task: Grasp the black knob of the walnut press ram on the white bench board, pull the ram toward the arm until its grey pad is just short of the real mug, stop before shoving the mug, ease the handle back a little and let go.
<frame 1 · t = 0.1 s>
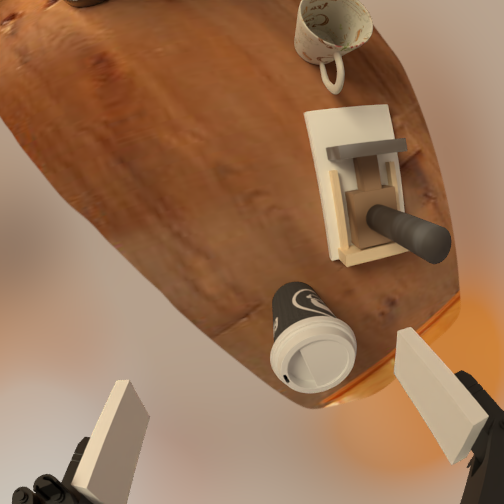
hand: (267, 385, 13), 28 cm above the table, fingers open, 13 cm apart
mug: (318, 59, 33), on the table
ram: (394, 199, 29), point 9 cm above the table, slide at 0.0 cm
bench: (359, 179, 38), on the table
coffee cup: (294, 301, 43), on the table
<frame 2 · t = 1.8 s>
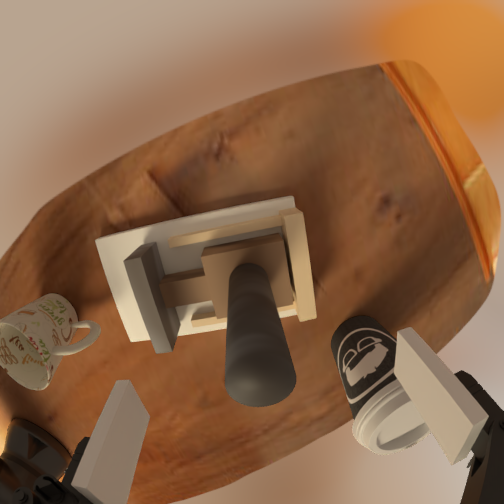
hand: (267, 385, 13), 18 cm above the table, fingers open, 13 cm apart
mug: (72, 313, 31), on the table
ram: (210, 315, 21), point 9 cm above the table, slide at 0.0 cm
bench: (202, 273, 30), on the table
coffee cup: (355, 338, 34), on the table
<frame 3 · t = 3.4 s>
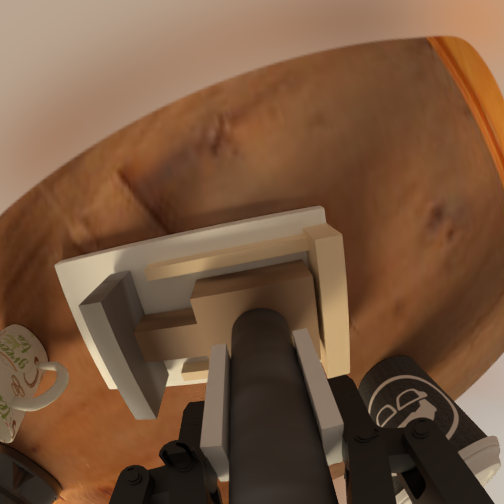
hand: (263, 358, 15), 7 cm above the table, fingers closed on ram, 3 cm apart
mug: (40, 348, 23), on the table
ram: (203, 398, 13), point 9 cm above the table, slide at 0.0 cm, touching gripper
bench: (196, 311, 22), on the table
coffee cup: (387, 380, 25), on the table
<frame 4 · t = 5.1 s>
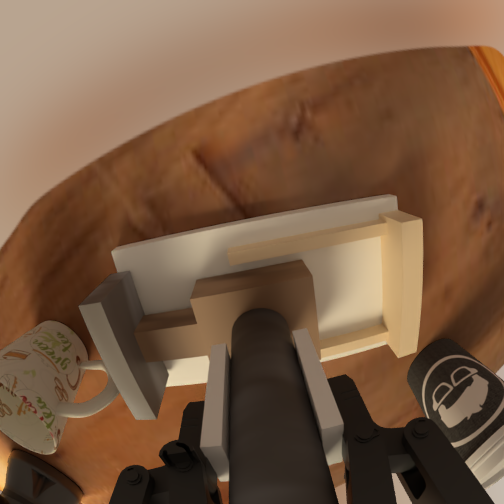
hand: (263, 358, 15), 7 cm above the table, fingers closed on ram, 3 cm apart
mug: (79, 346, 23), on the table
ram: (204, 398, 13), point 9 cm above the table, slide at 5.5 cm, touching gripper
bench: (268, 298, 22), on the table
coffee cup: (432, 363, 25), on the table
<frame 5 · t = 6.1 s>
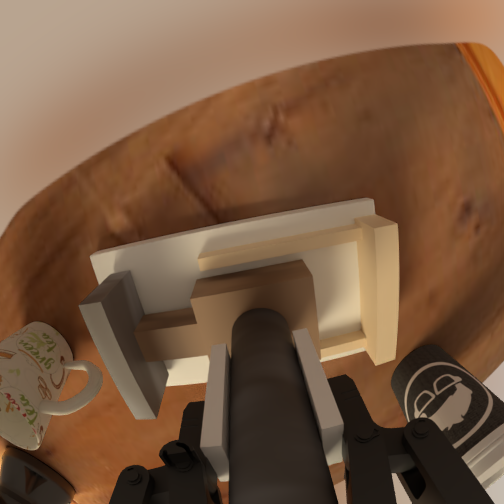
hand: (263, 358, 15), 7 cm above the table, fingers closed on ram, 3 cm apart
mug: (64, 346, 23), on the table
ram: (203, 398, 13), point 10 cm above the table, slide at 3.6 cm, touching gripper
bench: (243, 302, 22), on the table
coffee cup: (417, 369, 25), on the table
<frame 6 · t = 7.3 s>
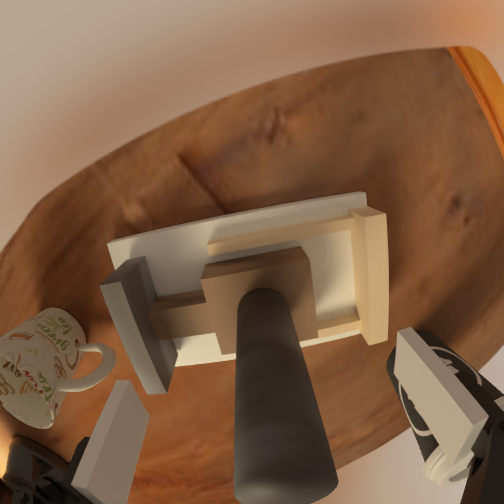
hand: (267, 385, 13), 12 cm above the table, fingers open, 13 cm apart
mug: (78, 331, 25), on the table
ram: (212, 365, 15), point 10 cm above the table, slide at 3.6 cm
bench: (247, 286, 24), on the table
coffee cup: (411, 355, 27), on the table
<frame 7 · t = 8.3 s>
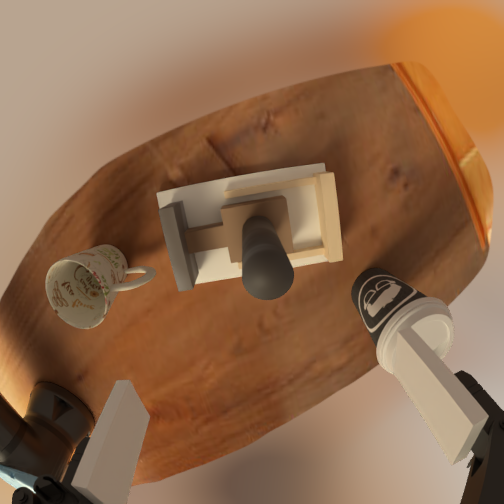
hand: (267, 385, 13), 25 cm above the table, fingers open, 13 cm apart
mug: (122, 263, 37), on the table
ram: (228, 249, 27), point 9 cm above the table, slide at 3.6 cm
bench: (248, 224, 36), on the table
coffee cup: (371, 289, 40), on the table
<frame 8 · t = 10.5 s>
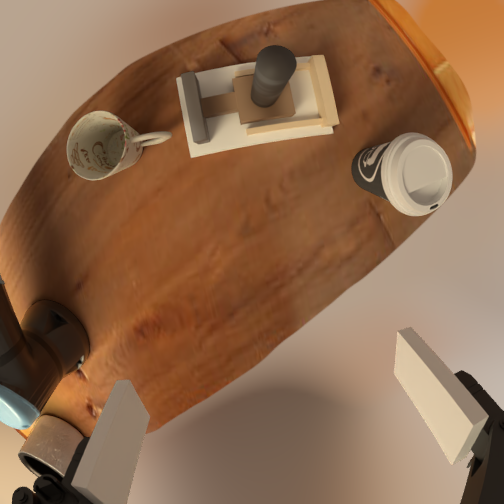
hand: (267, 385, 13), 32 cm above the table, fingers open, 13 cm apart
mug: (138, 144, 39), on the table
ram: (240, 89, 29), point 10 cm above the table, slide at 3.6 cm
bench: (254, 103, 38), on the table
coffee cup: (370, 169, 41), on the table
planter: (64, 432, 57), on the table
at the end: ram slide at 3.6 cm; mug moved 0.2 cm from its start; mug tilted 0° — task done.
